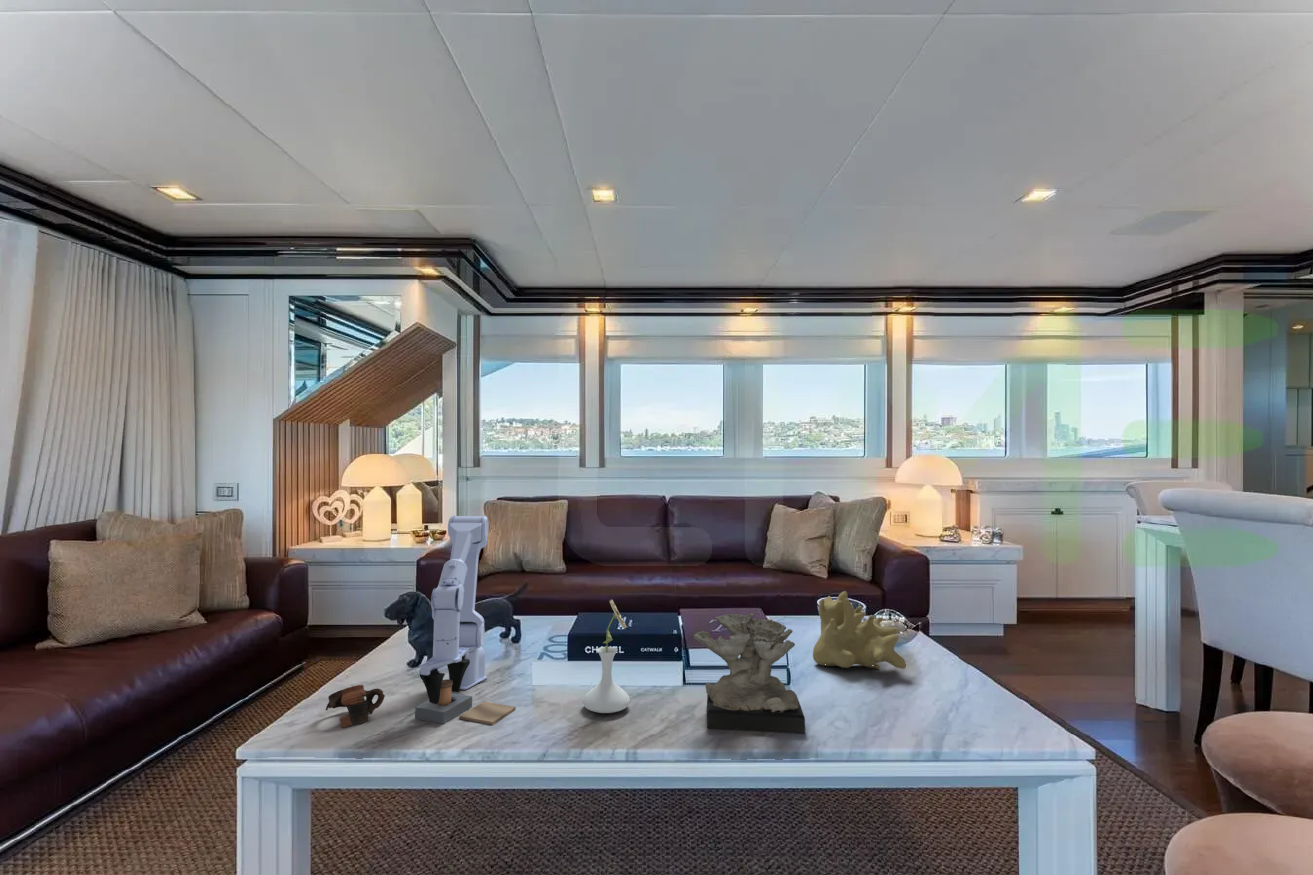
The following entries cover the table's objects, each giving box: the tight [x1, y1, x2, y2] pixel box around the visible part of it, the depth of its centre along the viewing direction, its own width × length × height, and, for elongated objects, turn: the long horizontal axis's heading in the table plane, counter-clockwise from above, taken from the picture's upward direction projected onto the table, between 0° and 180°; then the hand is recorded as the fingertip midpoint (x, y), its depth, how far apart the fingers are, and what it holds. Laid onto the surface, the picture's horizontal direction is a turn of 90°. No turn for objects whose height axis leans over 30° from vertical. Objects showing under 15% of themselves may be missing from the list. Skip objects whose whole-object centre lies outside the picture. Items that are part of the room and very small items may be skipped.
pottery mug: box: [325, 684, 386, 729], centre depth 135 cm, size 12×10×8 cm
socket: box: [414, 692, 473, 724], centre depth 138 cm, size 10×8×2 cm
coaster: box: [458, 701, 517, 725], centre depth 137 cm, size 9×9×1 cm
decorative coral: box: [812, 590, 907, 670], centre depth 175 cm, size 26×22×25 cm
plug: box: [438, 678, 453, 706], centre depth 138 cm, size 3×3×7 cm
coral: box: [693, 613, 806, 735], centre depth 141 cm, size 25×20×22 cm
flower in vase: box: [582, 599, 631, 714], centre depth 143 cm, size 13×11×25 cm
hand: (444, 696), depth 138 cm, fingers open, 7 cm apart
